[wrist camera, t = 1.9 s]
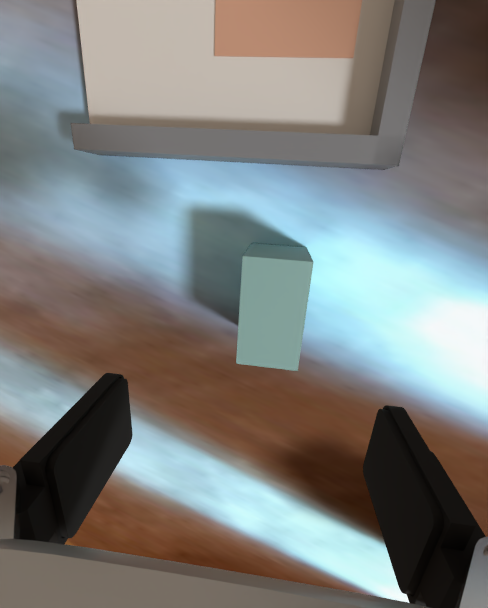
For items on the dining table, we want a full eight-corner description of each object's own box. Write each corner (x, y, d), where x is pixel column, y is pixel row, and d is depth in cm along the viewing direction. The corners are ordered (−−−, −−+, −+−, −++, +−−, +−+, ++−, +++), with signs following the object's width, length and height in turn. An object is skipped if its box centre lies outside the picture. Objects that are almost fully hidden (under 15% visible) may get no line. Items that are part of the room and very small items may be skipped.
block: (306, 246, 24) (313, 261, 18) (294, 334, 27) (297, 370, 21) (251, 242, 24) (242, 256, 19) (246, 329, 27) (236, 363, 22)
